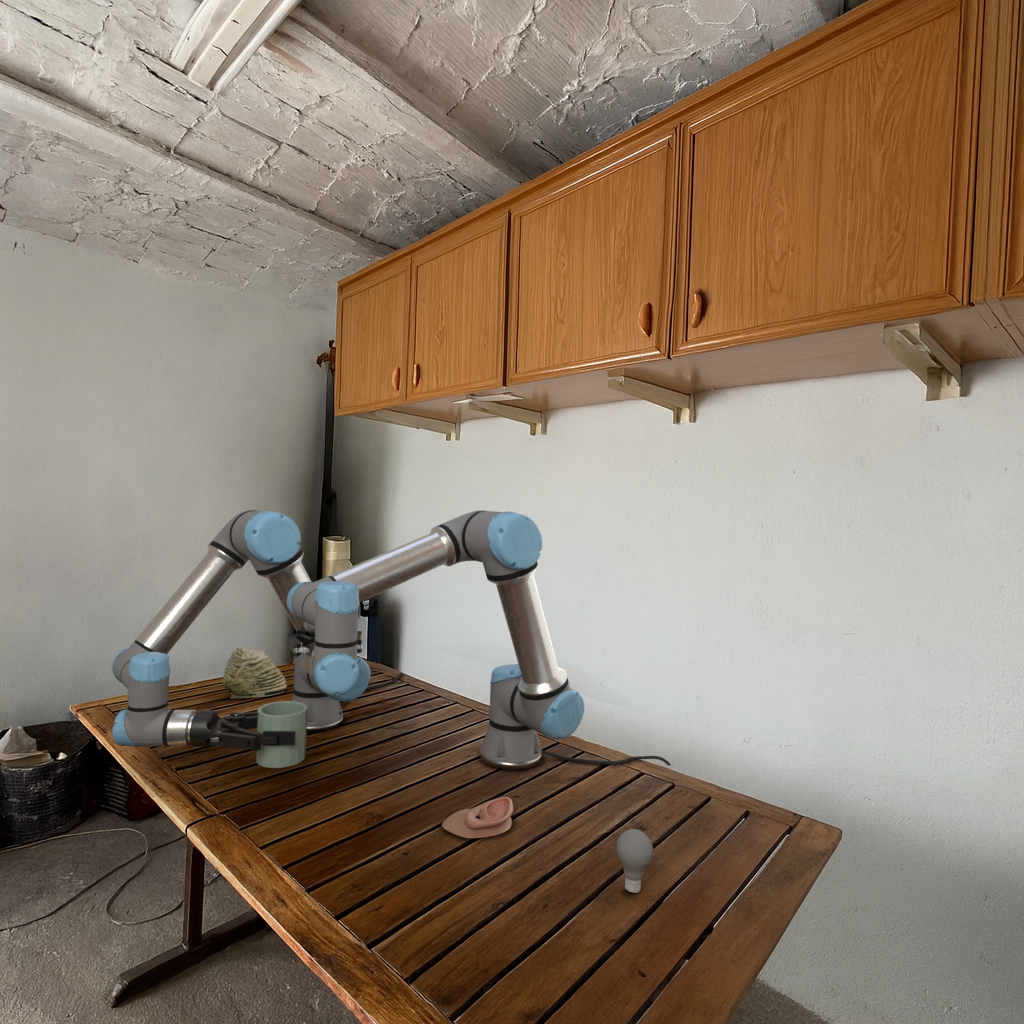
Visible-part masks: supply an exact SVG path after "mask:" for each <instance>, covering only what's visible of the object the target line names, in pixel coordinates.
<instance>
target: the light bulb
mask: <svg viewBox="0 0 1024 1024" xmlns="http://www.w3.org/2000/svg"><path fill="white" fill-rule="evenodd" d="M615 849H616V854H617V857H618V859H619V861H620V863H621V865H622V867H623V873H624V874H623V875H624V876H625V878H624V888H625V890H627V891H628V892H630V893H634V894H635V893H639V892H640V891H641V889H642V887H641V886H642V879H643V877H644V875H645V871H646V868H647V867H648V866H649V864H650V863H651V861H652V859H653V855H654V847H653V843H652V841H651V838H649V836H648V835H647V834H646V833H645V832H643V831H642V830H641V829H636V828H629V829H627V830H625V831H623V832H622V833H621V834H620V835H619V837H618V839H617V841H616V847H615Z"/></svg>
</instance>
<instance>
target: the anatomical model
mask: <svg viewBox="0 0 1024 1024" xmlns="http://www.w3.org/2000/svg"><path fill="white" fill-rule="evenodd" d="M513 812H514V803H513V800H512V799H511V798H510V797H508V796H501V797H497V798H493V799H491V800H487V801H485V802H483V803H481V804H479V805H477V806H474V807H472V808H464V809H461V810H458V811H456V812H454V813H452V814H451V815H449V816H448V817H447V818H445V819H444V820H443V822H442V824H441V827H442V828H443V829H444V830H445V831H447V832H448V833H451V834H453V835H455V836H458V837H460V838H465V839H480V838H481V839H482V838H488V837H495V836H498V835H501V834H503V833H505V832H507V831H509V830H510V829H511V828H512V825H513V821H512V818H511V816H512V814H513Z"/></svg>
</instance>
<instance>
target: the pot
mask: <svg viewBox="0 0 1024 1024" xmlns="http://www.w3.org/2000/svg"><path fill="white" fill-rule="evenodd" d="M256 712H257V728H256V732H258V733H262V735H263V731H296V732H295V745H262V744H261V749H260V750H256V749H255V763H256V764H257V765H258V766H260V767H263V768H268V769H281V768H288V767H292V766H295V765H297V764H300V763H301V762H303V761H304V760H305V758H306V754H307V733H308V732H307V712H308V707H307V706H306V705H305V704H303V703H301V702H294V701H292V700H282V701H281V700H280V701H273V702H269V703H265V704H263V705H261V706H259V707H258V708H257V711H256Z"/></svg>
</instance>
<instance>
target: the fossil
mask: <svg viewBox="0 0 1024 1024" xmlns="http://www.w3.org/2000/svg"><path fill="white" fill-rule="evenodd" d="M222 676H223V677H222V685H223V687H224V688H225V690H226V691H228V693H229V698H230V699H250V698H264V697H271V696H275V695H281V694H284V693H285V691H286V689H287V687H288V686H287V680H286V678H285V676H284V674H283V673H282V672H281V669H279V668H278V667H277V665H276V663H275V662H274V660H273V659H272V658H271V657H270V656H269V655H268V654H267V653H266V652H265V650H264V649H263V648H260V647H258V648H251V647H247V646H246V647H245V646H238V647H237V648H236V649H235V650H233V651H232V653H231V656H230V657H229V659H228V660H227V663H226V666H225V668H224V671H223V675H222Z"/></svg>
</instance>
